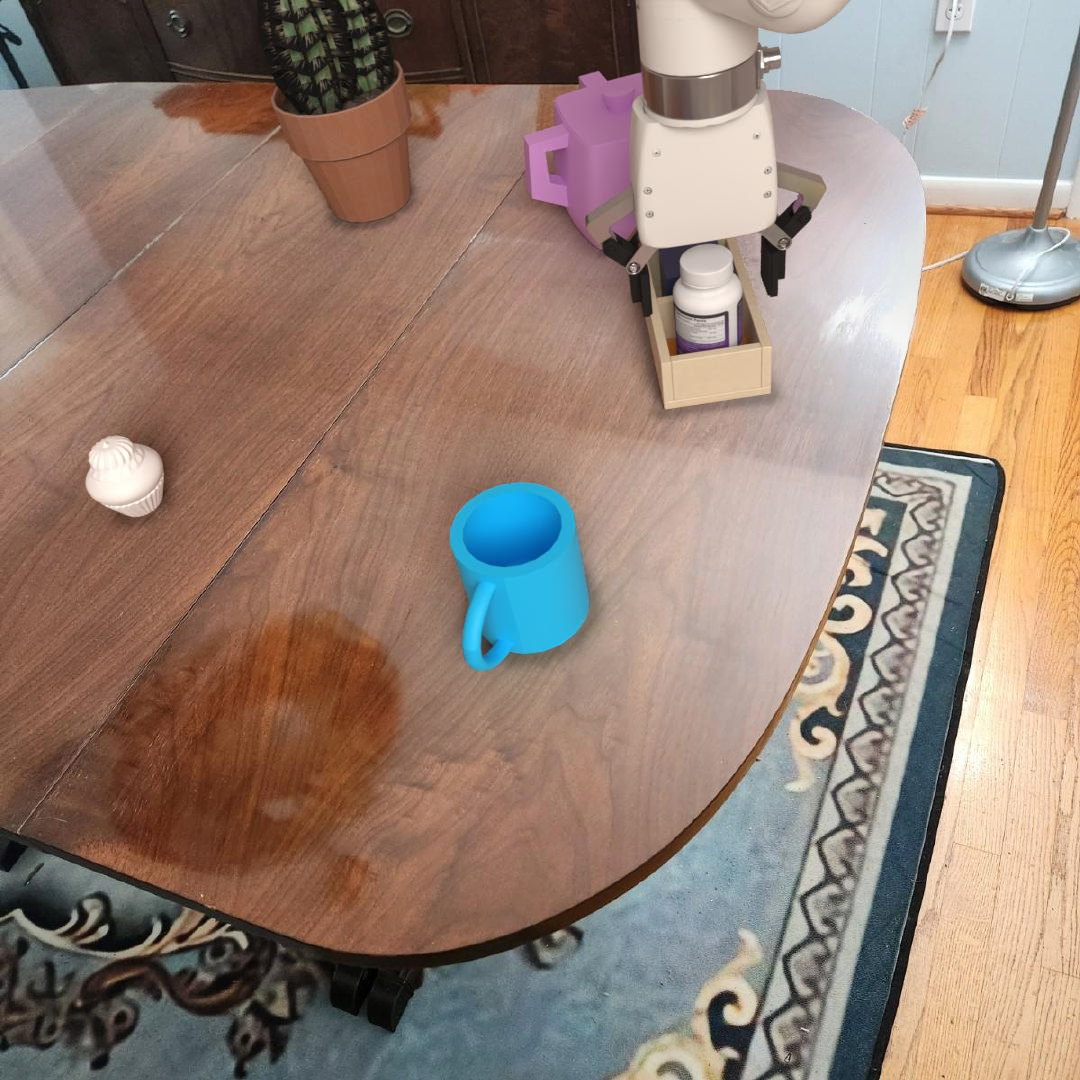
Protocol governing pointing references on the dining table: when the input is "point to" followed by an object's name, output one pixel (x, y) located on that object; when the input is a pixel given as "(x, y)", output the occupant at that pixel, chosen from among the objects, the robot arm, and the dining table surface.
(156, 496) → the muffin
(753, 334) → the sorter
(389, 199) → the potted plant
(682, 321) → the pill bottle
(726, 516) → the dining table surface
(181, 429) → the dining table surface
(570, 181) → the teakettle
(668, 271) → the navy block
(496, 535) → the mug
